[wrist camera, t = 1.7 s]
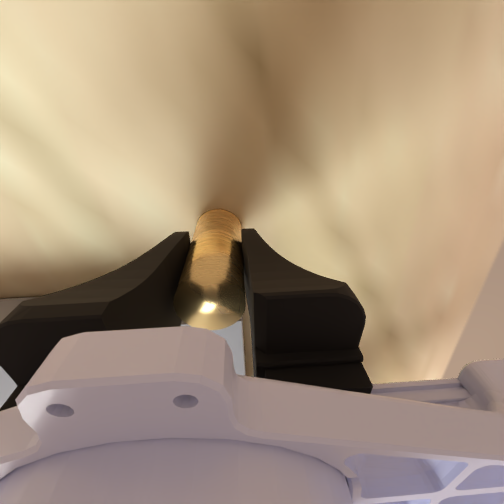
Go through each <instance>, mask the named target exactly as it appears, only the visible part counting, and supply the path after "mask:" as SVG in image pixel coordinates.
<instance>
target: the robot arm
mask: <svg viewBox="0 0 504 504" xmlns="http://www.w3.org/2000/svg"><path fill="white" fill-rule="evenodd" d="M241 240H242V255H243V265H244V284H245V292H246V298H247V304H248V310H249V316H250V324H251V338H252V354H253V370H254V377H251V376H245V375H238V374H236V372H235V369H234V364H233V354H232V351H231V349H230V347H229V345H228V343H227V342H226V340H225V339H224V338H222V337H221V336H219V335H217V334H215V333H213V332H212V331H210V330H208V329H206V328H197V327H189V326H181V323H182V320H181V319H180V318H179V316H178V315H177V313H176V312H175V309H174V296H175V293H176V290H177V287H178V283H179V280H180V277H181V274H182V271H183V267H184V264H185V261H186V258H187V255H188V251H189V248H190V245H191V243H190V237H189V232H175V233H173V234H172V235H170V236H169V237H167V238H166V239H164V240H163V241H162V242H160V243H159V244H158V245H156V246H155V247H153V248H152V249H151V250H149V251H148V252H146V253H145V254H143V255H141V256H140V257H138V258H137V259H135V260H134V261H132V262H130V263H128V264H127V265H125V266H123V267H121V268H119V269H117V270H115V271H113V272H110V273H108V274H106V275H103V276H101V277H99V278H96V279H94V280H91V281H89V282H86V283H83V284H81V285H78V286H75V287H72V288H69V289H65V290H62V291H59V292H55V293H52V294H48V295H44V296H40V297H36V298H33V299H29V300H24V301H22V302H21V303H20V304H19V305H18V306H17V307H16V308H15V309H14V310H12V311H11V312H10V313H9V314H8V315H7V316H6V317H5V318H4V319H3V320H2V321H1V322H0V366H1V367H2V368H3V369H4V371H5V372H6V373H7V374H8V375H9V376H10V377H11V378H12V380H13V381H14V382H15V383H16V384H17V385H18V386H17V387H16V389H15V390H14V391H13V392H12V394H11V395H10V396H9V398H8V399H7V400H6V402H5V403H4V404H3V406H2V407H1V408H0V504H504V359H491V360H477V361H473V362H470V363H468V364H466V365H465V366H464V367H463V368H462V370H461V371H460V373H459V376H458V378H451V379H437V380H423V381H409V382H395V383H381V384H372V383H371V381H370V379H369V377H368V375H367V373H366V371H365V369H364V367H363V365H362V363H361V362H363V355H362V353H361V351H360V349H359V347H358V346H359V342H360V339H361V336H362V332H363V329H364V326H365V319H366V315H365V312H364V308H363V307H362V305H361V304H360V302H359V300H358V299H357V297H356V296H355V294H354V293H353V291H352V290H351V289H350V288H349V286H348V285H347V284H346V283H345V282H341V281H337V280H333V279H330V278H326V277H323V276H320V275H317V274H314V273H312V272H309V271H307V270H305V269H303V268H301V267H299V266H297V265H295V264H293V263H291V262H289V261H288V260H286V259H285V258H283V257H282V256H280V255H279V254H278V253H276V252H275V251H274V250H273V249H272V248H271V247H270V246H269V245H268V244H267V243H266V242H265V241H264V240H263V239H262V238H261V237H260V235H259V234H258V233H257V231H256V230H255V229H254V228H253V229H241Z"/></svg>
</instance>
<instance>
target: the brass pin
mask: <svg viewBox="0 0 504 504" xmlns="http://www.w3.org/2000/svg"><path fill="white" fill-rule="evenodd" d="M241 229H242V228H241V224H240V221H239V220H238V218H237V217H236V216H235V215H234V214H232V213H231V212H229V211H227V210H223V209H213V210H210V211H208V212H206V213H204V214H203V215H202V216H201V217H200V218H199V220H198V223H197V226H196V229H195V232H194V235H193V238H192V242H191V245H190V248H189V251H188V255H187V258H186V261H185V264H184V267H183V271H182V274H181V277H180V280H179V283H178V287H177V290H176V293H175V296H174V309H175V312H176V313H177V315H178V316H179V318H180V319H181V320H182V321H184V322H185V323H187V324H188V325H190V326H192V327H197V328H206V329H208V330H219V329H223V328H226V327H229V326H231V325H233V324H234V323H236V322H237V321H238V320H239V319H240V318H241V317H242V315H243V313H244V311H245V304H246V303H245V284H244V265H243V255H242V240H241Z"/></svg>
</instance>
